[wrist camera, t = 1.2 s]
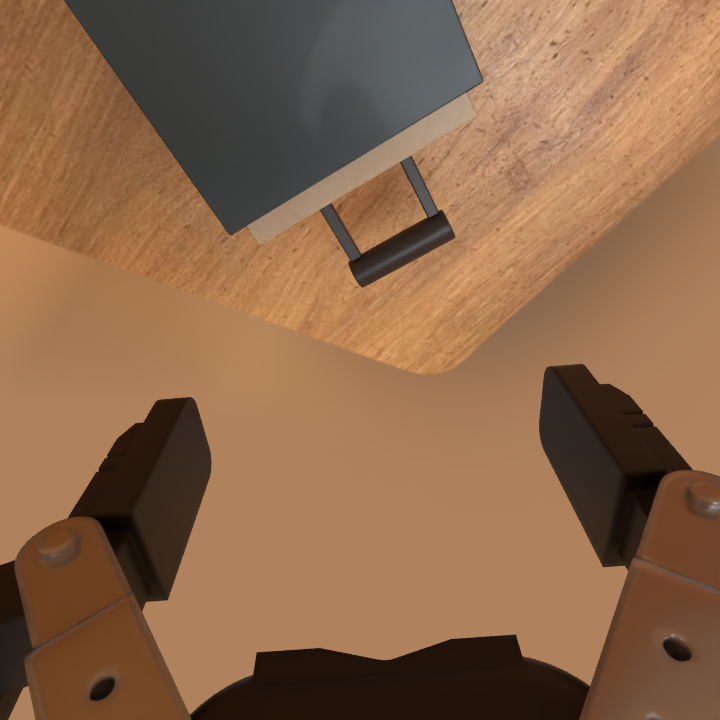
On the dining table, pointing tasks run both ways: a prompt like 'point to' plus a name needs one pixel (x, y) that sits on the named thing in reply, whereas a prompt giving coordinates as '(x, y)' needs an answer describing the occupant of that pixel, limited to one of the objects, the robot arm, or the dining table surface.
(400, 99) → the cabinet
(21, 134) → the dining table surface
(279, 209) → the drawer
